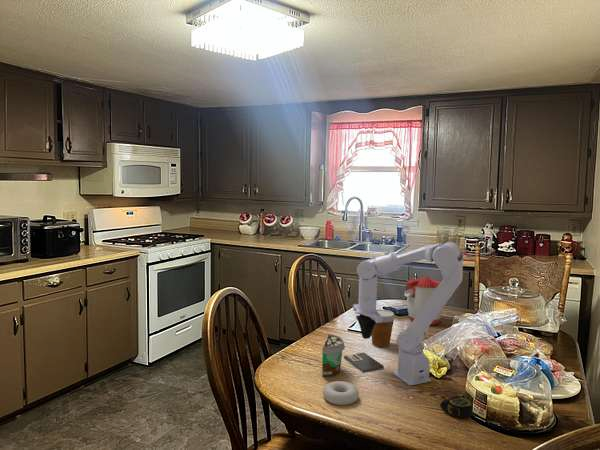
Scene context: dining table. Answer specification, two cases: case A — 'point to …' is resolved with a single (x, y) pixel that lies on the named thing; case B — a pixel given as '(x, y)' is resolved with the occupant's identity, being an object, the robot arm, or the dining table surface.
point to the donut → (340, 393)
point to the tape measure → (457, 406)
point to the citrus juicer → (420, 296)
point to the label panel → (363, 362)
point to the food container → (332, 356)
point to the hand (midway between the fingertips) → (366, 337)
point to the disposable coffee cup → (383, 329)
